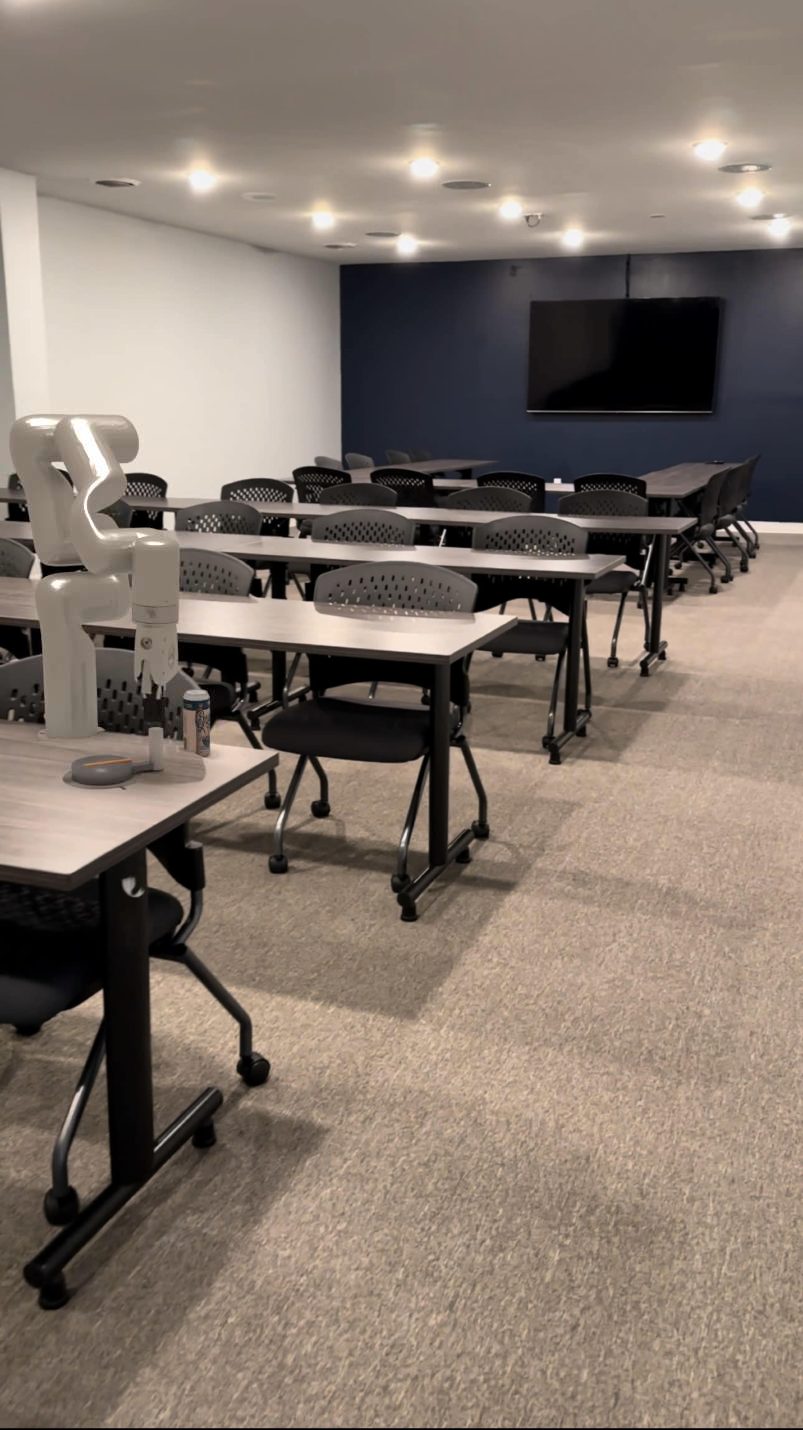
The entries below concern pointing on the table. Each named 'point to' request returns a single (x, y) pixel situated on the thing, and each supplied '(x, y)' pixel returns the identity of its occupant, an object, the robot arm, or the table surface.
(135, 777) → the board
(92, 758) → the dial
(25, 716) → the table surface
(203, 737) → the beer can
